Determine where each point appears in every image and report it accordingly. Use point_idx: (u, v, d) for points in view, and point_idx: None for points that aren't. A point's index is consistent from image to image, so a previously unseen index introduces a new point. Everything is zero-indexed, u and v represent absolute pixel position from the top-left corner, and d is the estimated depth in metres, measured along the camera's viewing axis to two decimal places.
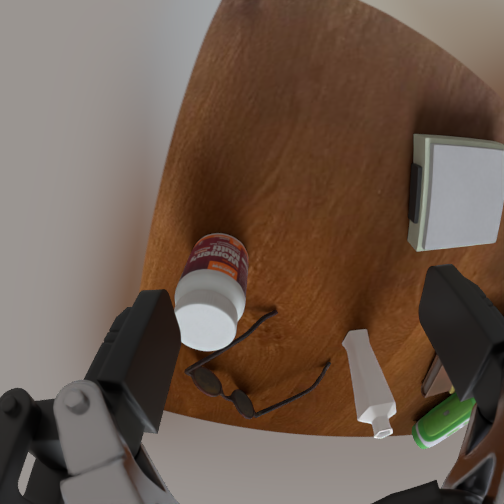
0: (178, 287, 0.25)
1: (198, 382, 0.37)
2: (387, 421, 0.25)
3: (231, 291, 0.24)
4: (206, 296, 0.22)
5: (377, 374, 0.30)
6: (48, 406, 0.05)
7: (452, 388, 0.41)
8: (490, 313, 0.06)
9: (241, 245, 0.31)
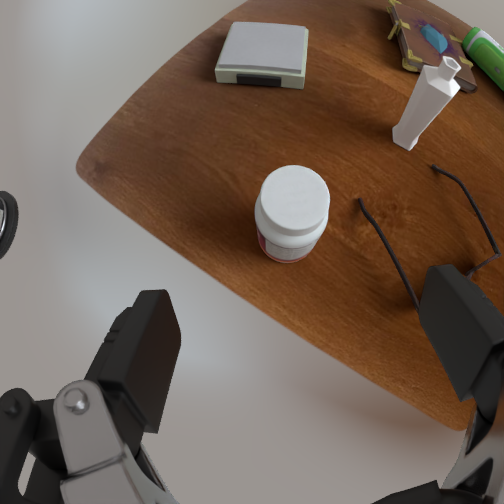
0: (264, 232, 0.24)
1: None
2: (440, 64, 0.21)
3: None
4: None
5: (413, 95, 0.27)
6: (48, 406, 0.05)
7: (466, 62, 0.34)
8: (490, 313, 0.06)
9: None
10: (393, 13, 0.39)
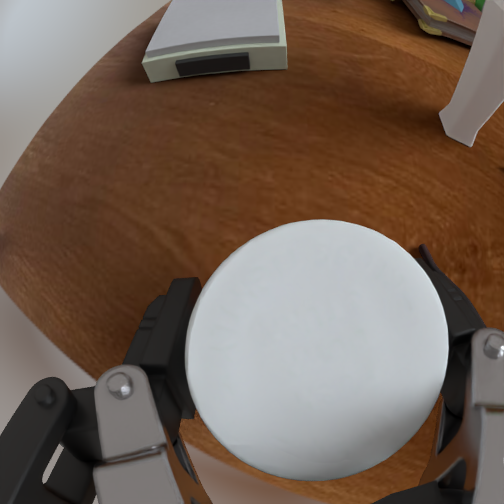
0: None
1: None
2: None
3: None
4: None
5: (475, 48, 0.12)
6: (83, 394, 0.05)
7: None
8: (454, 305, 0.06)
9: None
10: None
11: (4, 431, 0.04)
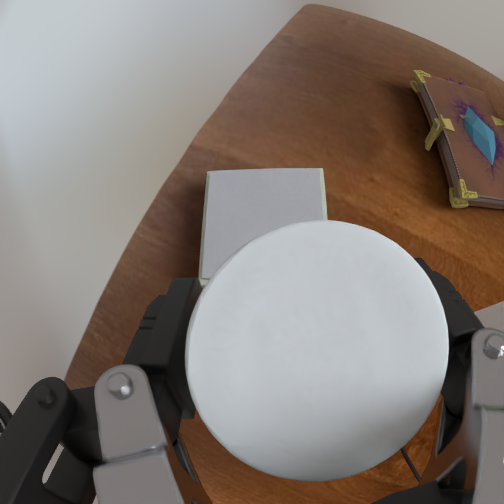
0: None
1: None
2: None
3: None
4: None
5: (482, 321, 0.19)
6: (83, 394, 0.05)
7: None
8: (454, 305, 0.06)
9: None
10: (422, 94, 0.33)
11: (4, 431, 0.04)
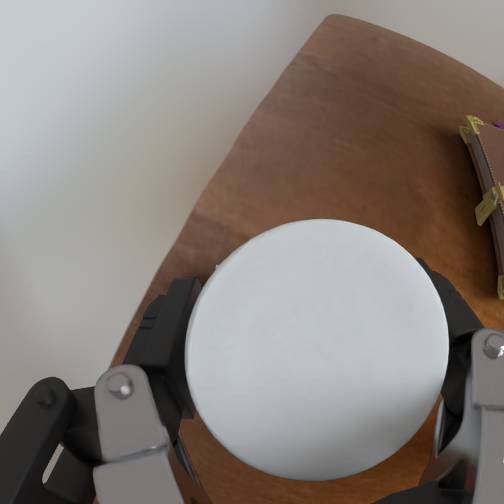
0: None
1: None
2: None
3: None
4: None
5: None
6: (83, 394, 0.05)
7: None
8: (454, 305, 0.06)
9: None
10: (474, 146, 0.26)
11: (4, 431, 0.04)
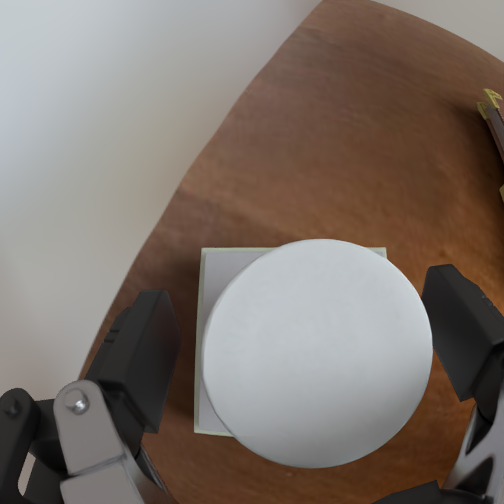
0: None
1: None
2: None
3: None
4: None
5: None
6: (48, 406, 0.05)
7: None
8: (490, 313, 0.06)
9: None
10: (493, 122, 0.22)
11: None
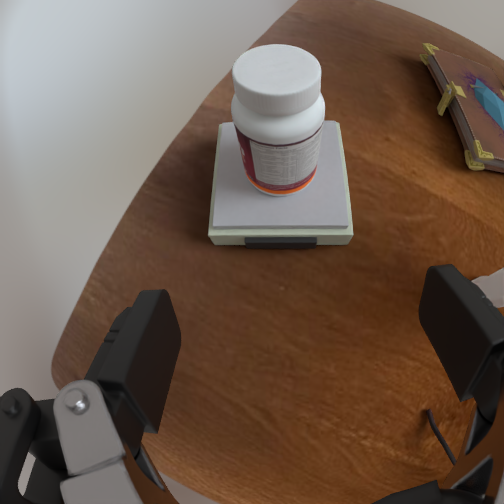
0: (246, 127, 0.17)
1: None
2: None
3: None
4: None
5: None
6: (48, 406, 0.05)
7: None
8: (490, 313, 0.06)
9: None
10: (432, 65, 0.31)
11: None
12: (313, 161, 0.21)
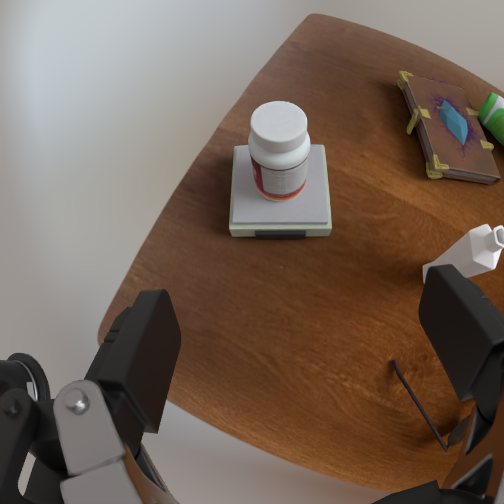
0: (259, 158, 0.28)
1: (459, 438, 0.24)
2: (488, 235, 0.21)
3: None
4: None
5: (451, 252, 0.27)
6: (48, 406, 0.05)
7: (487, 146, 0.36)
8: (490, 313, 0.06)
9: None
10: (406, 90, 0.41)
11: None
12: (302, 178, 0.32)
